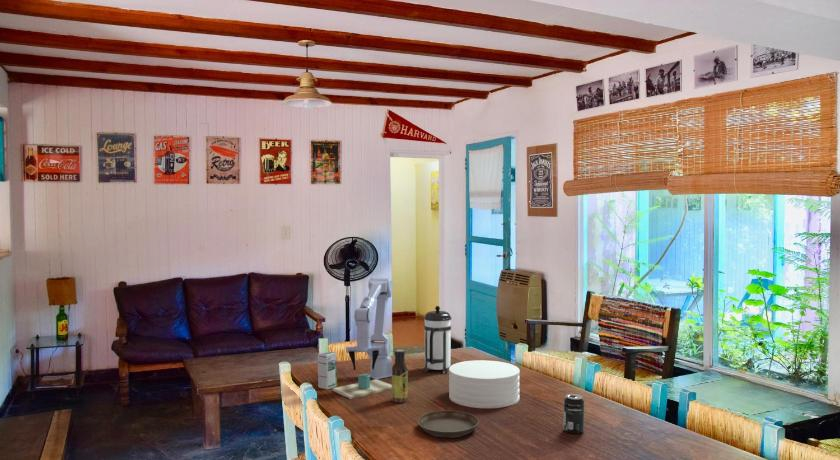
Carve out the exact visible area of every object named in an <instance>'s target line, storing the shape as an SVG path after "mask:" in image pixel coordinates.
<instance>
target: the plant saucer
mask: <svg viewBox="0 0 840 460" xmlns="http://www.w3.org/2000/svg"><path fill="white" fill-rule="evenodd" d="M417 423H418V425H419V427H420V428H421V430H423V431H424V432H425V433H427V434H428V435H431V436H433V437H439V438H443V439H444V438H451V439H452V438H453V439H454V438H460V437H465V436H466V435H469V434H471V433H472V432H473V431H474V430H475V429H476V428H477V426H478V424H479V419H478V417H477V416H475V415H473V414H472V413H469V412H465V411H460V410H437V411H431V412H427V413H426V414H423V415H421V416H420V417H419V418H418V420H417Z"/></svg>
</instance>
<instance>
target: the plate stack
mask: <svg viewBox="0 0 840 460" xmlns="http://www.w3.org/2000/svg"><path fill="white" fill-rule="evenodd" d="M448 373H449V374H448V379H449V380H448V385H449V386H448V393H449V394H448V398H449V399H450V401H451V402H453V403H454V404H458V405H460V406H463V407H464V406H465V407H468V408H477V409H498V408H505V407H510V406H513V405H515V404H517V403H518V402H519V401H520V400H521V399H520V386H521V385H520V380H521V379H520V378H521V377H520V368H519V367H518V366H516V365H515V364H512V363H508V362H504V361H498V360H489V359H488V360H486V359H485V360H483V359H482V360H481V359H480V360H479V359H476V360H466V361H464V360H463V361H460V362H456V363H453V364H451V366H450V367H449V368H448Z"/></svg>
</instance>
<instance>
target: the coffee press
mask: <svg viewBox="0 0 840 460" xmlns="http://www.w3.org/2000/svg"><path fill="white" fill-rule="evenodd" d="M434 309H435V310H431V311H427V312H426V313H425V315H424V316H423V320H424V324H423V329H424V368H423V369H422V371H423V372H424V373H427V372H428V371H429V370H434V371H435V370H437V371H439V370H440V371H442V373H443V374H448V369H449V367H450V366H451V365H452V363H451V351H452V348H451V343H452V342H451V341H452V339H451V335H452V333H451V330H452V324H451V321H452V316H451V314H450V313H449V312H447V311H445V310H441V307H440V306H439V305H436V306H435V308H434Z"/></svg>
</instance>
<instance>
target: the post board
mask: <svg viewBox="0 0 840 460" xmlns="http://www.w3.org/2000/svg"><path fill="white" fill-rule="evenodd" d="M332 391H333V392H334V393H336V394H339V395H341V396H343V397H345V398H347V399H350V400H351V399H355V398H361V397H366V396H369V395H373V394H378V393H382V392H387V391H392V383H388V382H385V381H382V380H380V379H372V380H371V379H370V388H368V389H359V388H358V382H356V383H351V384H347V385H342V386H341V385H340V386H337V387H333V388H332Z"/></svg>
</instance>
